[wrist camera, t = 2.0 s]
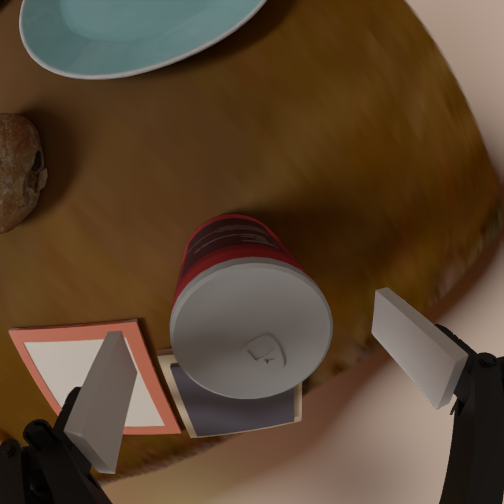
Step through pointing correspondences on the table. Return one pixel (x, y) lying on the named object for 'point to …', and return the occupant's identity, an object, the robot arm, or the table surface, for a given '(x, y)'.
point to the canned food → (246, 311)
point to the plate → (125, 33)
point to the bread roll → (19, 169)
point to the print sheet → (80, 361)
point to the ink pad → (225, 405)
